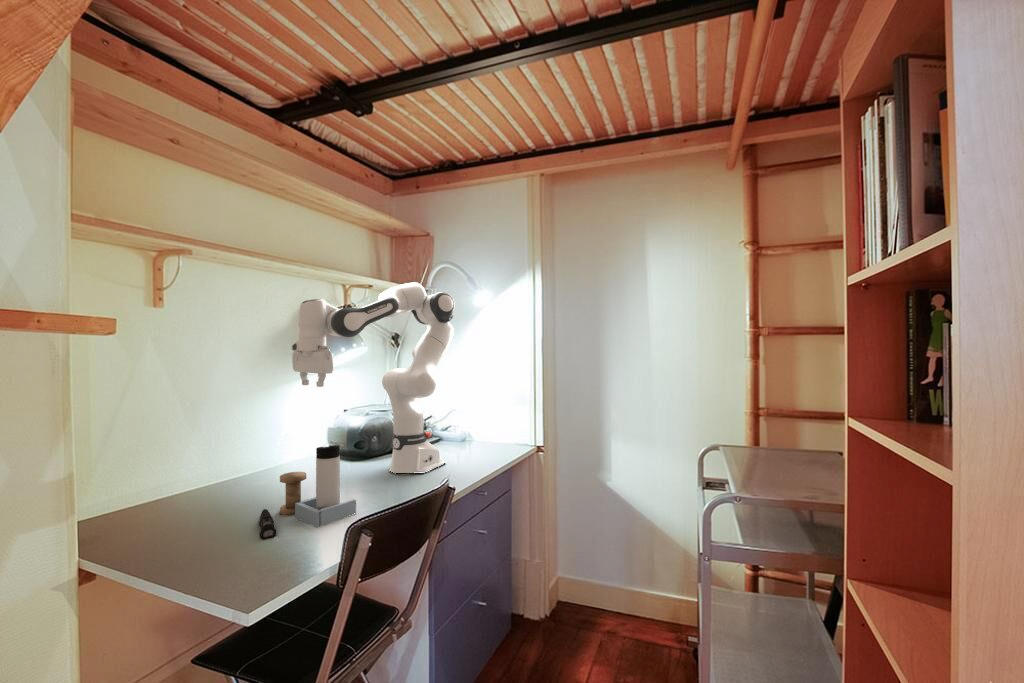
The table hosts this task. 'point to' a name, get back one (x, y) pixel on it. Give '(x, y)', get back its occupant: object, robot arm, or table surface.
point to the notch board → (323, 512)
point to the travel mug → (327, 476)
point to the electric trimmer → (266, 525)
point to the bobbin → (292, 491)
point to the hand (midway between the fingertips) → (312, 385)
